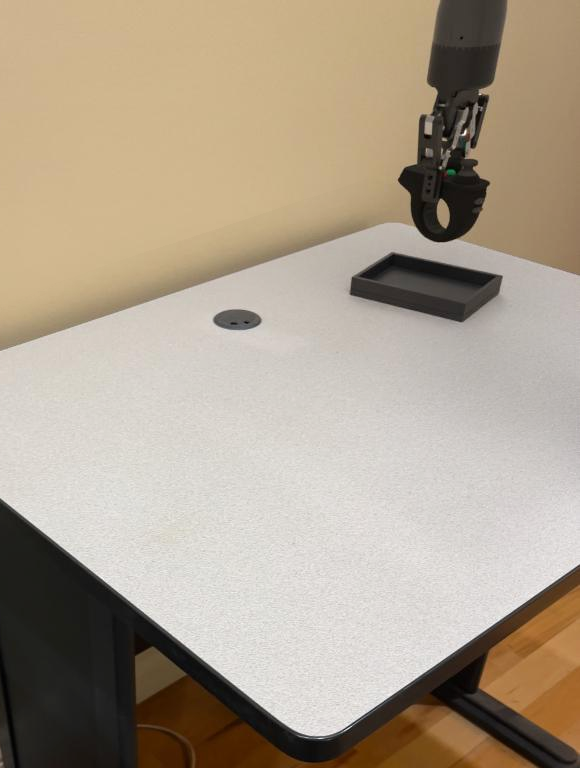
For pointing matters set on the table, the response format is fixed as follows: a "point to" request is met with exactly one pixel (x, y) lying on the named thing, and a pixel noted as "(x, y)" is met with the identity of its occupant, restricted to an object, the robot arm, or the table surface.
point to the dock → (426, 286)
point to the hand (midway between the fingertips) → (440, 194)
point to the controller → (446, 201)
